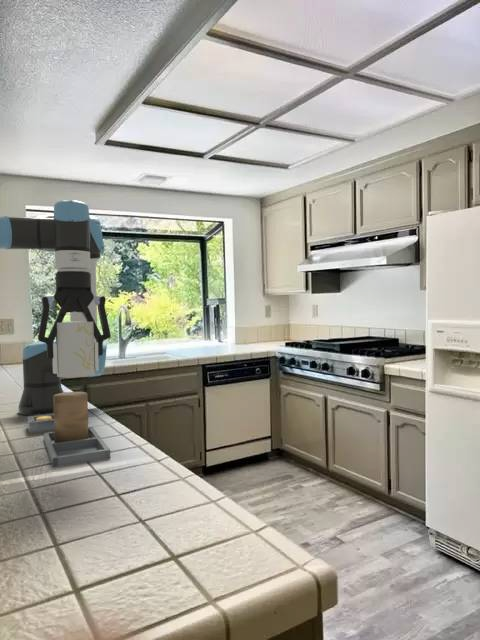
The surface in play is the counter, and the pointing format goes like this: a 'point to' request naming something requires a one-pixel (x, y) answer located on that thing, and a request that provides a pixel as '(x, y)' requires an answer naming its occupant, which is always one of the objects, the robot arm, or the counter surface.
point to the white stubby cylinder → (75, 349)
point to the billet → (70, 416)
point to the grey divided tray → (76, 449)
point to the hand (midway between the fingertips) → (76, 371)
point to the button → (43, 418)
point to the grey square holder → (40, 424)
